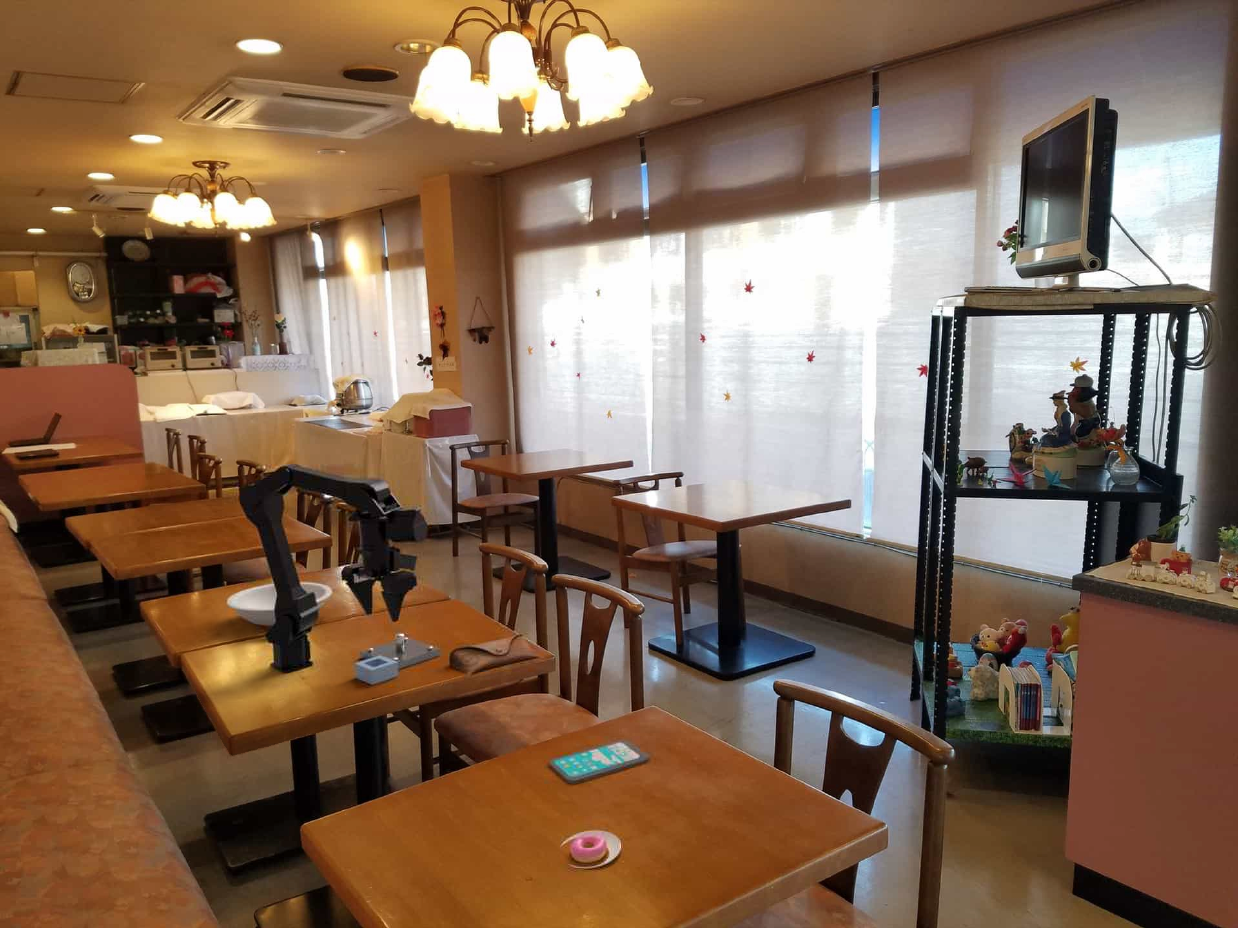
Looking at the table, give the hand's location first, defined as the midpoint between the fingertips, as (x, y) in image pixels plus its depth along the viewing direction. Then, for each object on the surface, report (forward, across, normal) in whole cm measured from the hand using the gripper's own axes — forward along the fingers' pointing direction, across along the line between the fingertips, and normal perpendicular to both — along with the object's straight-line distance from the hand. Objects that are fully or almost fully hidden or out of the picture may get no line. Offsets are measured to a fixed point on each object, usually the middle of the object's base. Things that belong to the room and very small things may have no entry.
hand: (382, 617), depth 178 cm
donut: (+16, -74, +17) cm, 78 cm away
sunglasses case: (+14, -10, -20) cm, 26 cm away
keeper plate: (+12, +7, -8) cm, 16 cm away
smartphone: (+15, -58, -1) cm, 60 cm away
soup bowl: (+10, +50, -3) cm, 51 cm away
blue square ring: (+12, +1, +2) cm, 12 cm away
